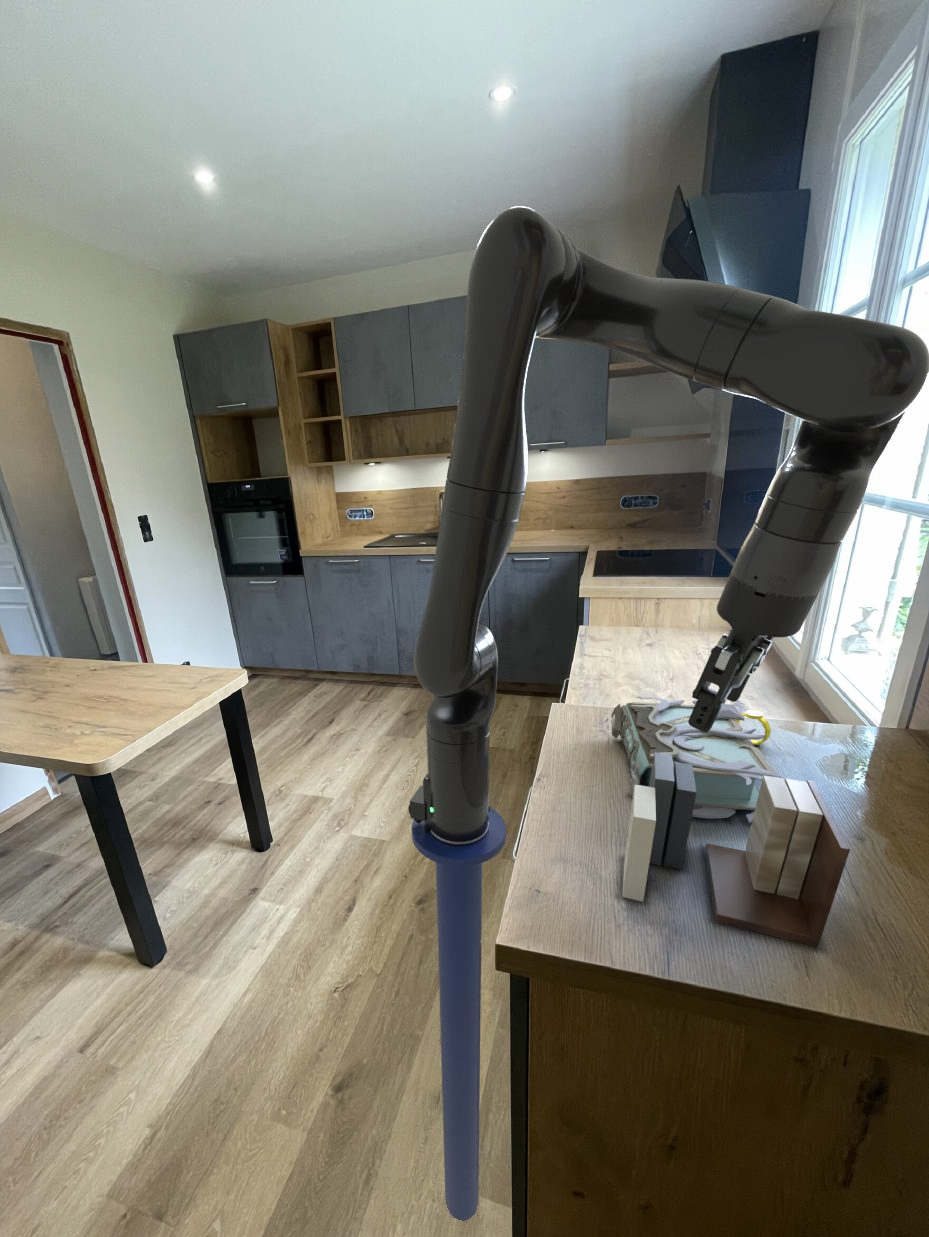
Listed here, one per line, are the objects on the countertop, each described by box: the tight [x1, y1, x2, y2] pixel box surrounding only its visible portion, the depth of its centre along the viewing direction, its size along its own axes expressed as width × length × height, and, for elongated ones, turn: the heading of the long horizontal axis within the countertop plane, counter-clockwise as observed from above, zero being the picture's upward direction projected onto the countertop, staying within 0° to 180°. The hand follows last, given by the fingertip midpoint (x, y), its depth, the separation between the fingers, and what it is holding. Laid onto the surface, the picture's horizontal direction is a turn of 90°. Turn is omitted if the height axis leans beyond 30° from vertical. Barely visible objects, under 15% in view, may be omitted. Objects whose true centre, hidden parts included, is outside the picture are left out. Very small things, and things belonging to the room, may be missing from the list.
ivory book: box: [622, 784, 656, 903], centre depth 66 cm, size 2×7×12 cm, turn 159°
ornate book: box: [610, 696, 786, 824], centre depth 89 cm, size 23×10×30 cm
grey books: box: [649, 752, 696, 870], centre depth 71 cm, size 5×7×13 cm
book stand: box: [704, 776, 851, 948], centre depth 63 cm, size 10×13×13 cm
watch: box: [736, 709, 772, 746], centre depth 99 cm, size 6×3×6 cm, turn 32°
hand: (713, 712), depth 59 cm, fingers open, 8 cm apart
